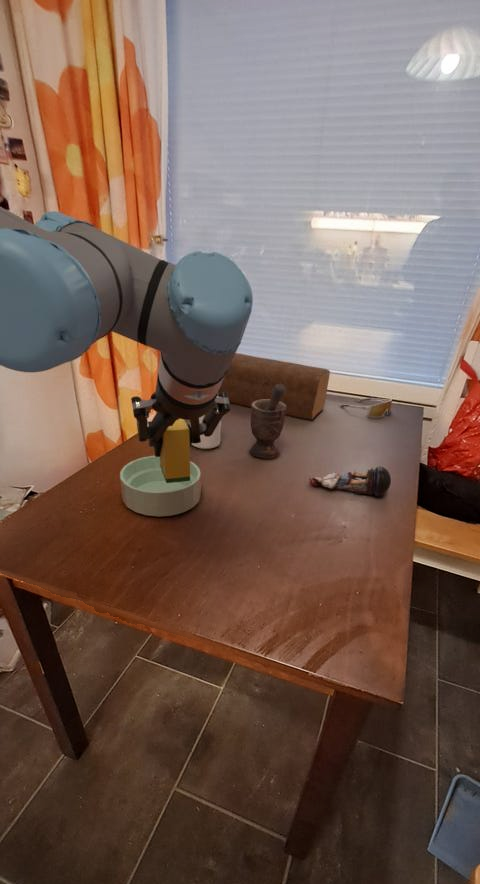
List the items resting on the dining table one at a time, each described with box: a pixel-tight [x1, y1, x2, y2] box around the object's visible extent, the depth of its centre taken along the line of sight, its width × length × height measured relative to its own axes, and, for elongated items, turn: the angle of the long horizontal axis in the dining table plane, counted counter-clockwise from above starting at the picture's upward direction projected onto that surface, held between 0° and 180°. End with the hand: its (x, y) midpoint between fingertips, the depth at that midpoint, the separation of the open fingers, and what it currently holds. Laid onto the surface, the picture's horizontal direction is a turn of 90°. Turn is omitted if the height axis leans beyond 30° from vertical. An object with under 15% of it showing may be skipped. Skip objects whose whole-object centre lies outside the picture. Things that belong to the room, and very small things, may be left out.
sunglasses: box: [340, 397, 393, 419], centre depth 142 cm, size 14×15×5 cm
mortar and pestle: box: [249, 384, 286, 460], centre depth 103 cm, size 12×9×20 cm
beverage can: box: [190, 415, 222, 450], centre depth 110 cm, size 8×8×12 cm
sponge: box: [160, 419, 191, 483], centre depth 68 cm, size 4×6×9 cm, turn 18°
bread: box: [217, 352, 331, 421], centre depth 138 cm, size 14×34×14 cm, turn 65°
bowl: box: [119, 455, 202, 518], centre depth 88 cm, size 16×16×6 cm
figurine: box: [308, 465, 392, 497], centre depth 96 cm, size 8×7×18 cm
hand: (170, 448), depth 72 cm, fingers closed on sponge, 4 cm apart
